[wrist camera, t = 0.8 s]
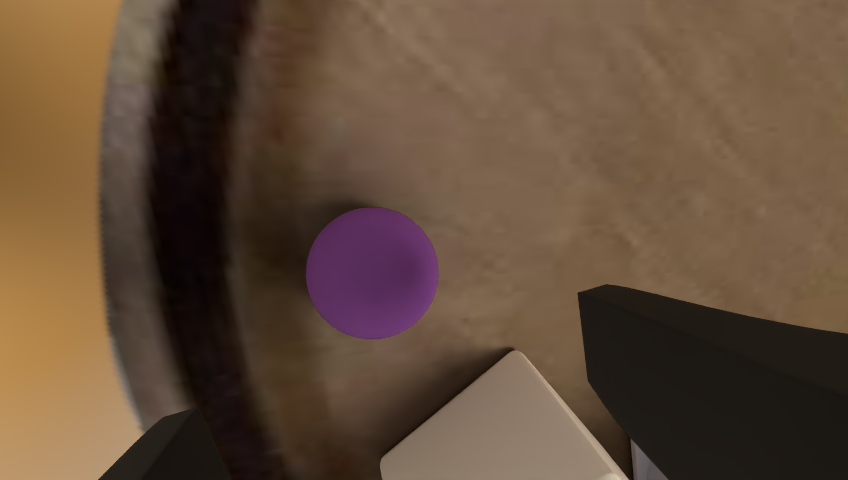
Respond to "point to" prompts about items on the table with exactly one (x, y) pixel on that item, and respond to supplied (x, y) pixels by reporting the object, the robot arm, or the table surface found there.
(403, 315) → the ball
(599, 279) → the table surface
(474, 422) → the cylinder-topped cream block
